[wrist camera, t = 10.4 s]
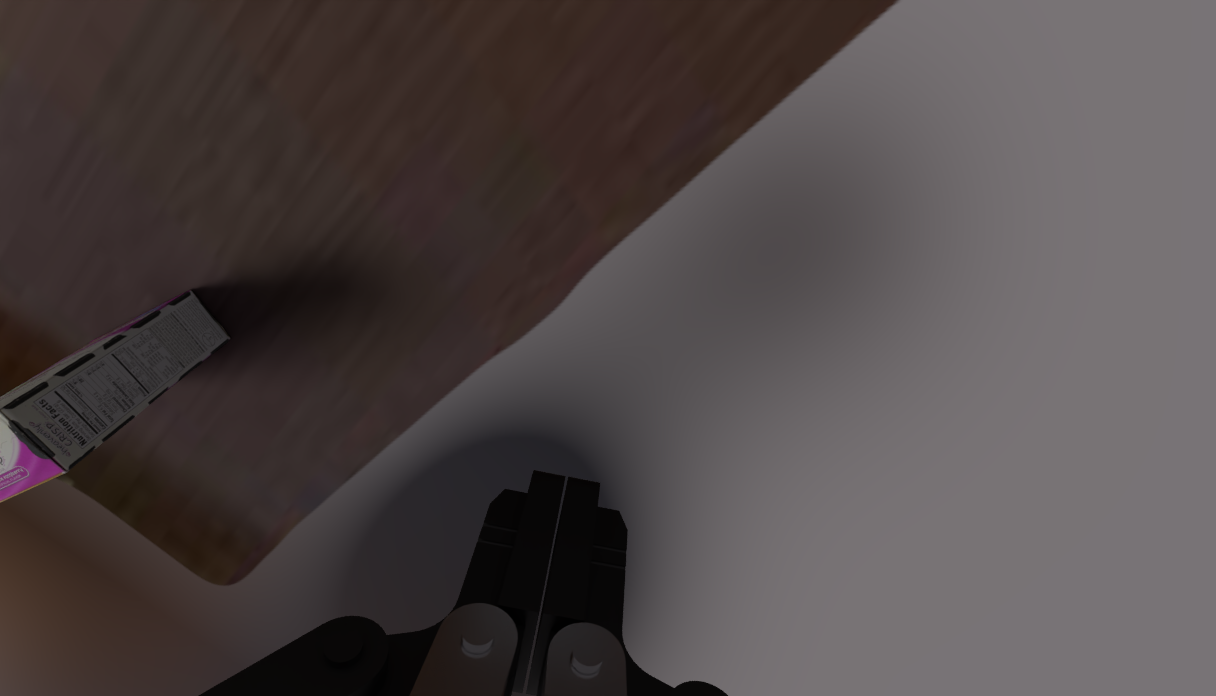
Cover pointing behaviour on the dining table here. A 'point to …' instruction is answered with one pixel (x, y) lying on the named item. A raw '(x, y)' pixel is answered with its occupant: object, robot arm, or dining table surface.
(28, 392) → the candy bar box
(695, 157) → the dining table surface
